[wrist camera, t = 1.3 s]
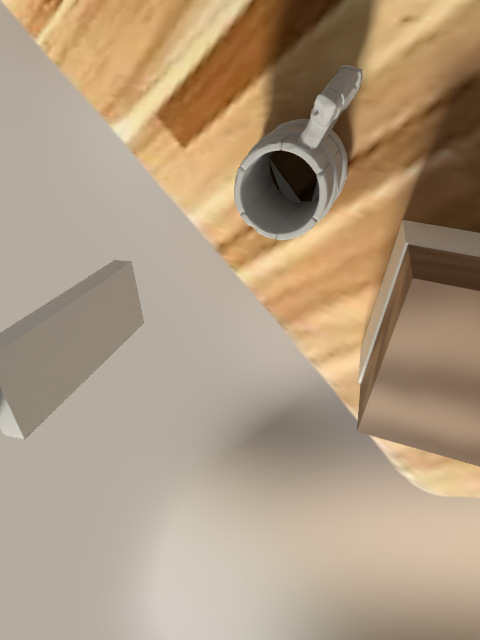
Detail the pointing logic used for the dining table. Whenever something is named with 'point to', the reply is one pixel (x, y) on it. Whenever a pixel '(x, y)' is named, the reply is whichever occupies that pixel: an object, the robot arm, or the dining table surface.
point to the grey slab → (407, 235)
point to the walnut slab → (428, 358)
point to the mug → (315, 148)
